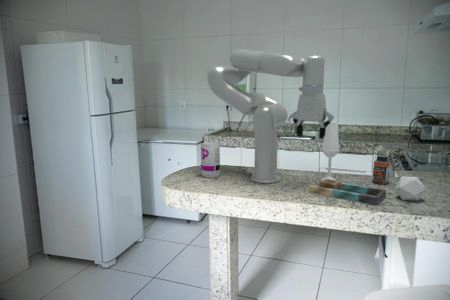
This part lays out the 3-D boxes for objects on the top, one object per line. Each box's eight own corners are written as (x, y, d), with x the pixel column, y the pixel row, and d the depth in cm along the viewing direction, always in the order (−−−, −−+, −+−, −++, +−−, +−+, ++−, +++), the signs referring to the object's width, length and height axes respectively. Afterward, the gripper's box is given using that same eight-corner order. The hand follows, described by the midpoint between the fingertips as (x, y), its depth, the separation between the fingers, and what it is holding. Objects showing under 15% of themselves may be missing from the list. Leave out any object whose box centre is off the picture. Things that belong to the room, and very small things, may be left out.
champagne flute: (319, 181, 136) (322, 124, 132) (321, 177, 143) (323, 122, 138) (336, 183, 134) (340, 124, 130) (337, 179, 140) (340, 123, 136)
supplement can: (206, 179, 141) (206, 144, 139) (198, 175, 148) (198, 142, 146) (223, 176, 145) (222, 143, 143) (214, 172, 152) (214, 140, 150)
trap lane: (308, 192, 122) (308, 185, 122) (320, 185, 131) (320, 179, 131) (377, 205, 108) (377, 198, 107) (385, 196, 117) (386, 190, 116)
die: (419, 207, 108) (434, 182, 109) (395, 192, 110) (410, 168, 111) (409, 207, 116) (423, 184, 117) (387, 193, 118) (401, 171, 119)
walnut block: (318, 192, 123) (319, 182, 122) (325, 188, 127) (325, 178, 127) (334, 195, 119) (335, 185, 118) (340, 191, 123) (341, 181, 123)
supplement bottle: (370, 183, 134) (372, 156, 132) (373, 180, 139) (375, 153, 137) (386, 185, 130) (388, 157, 128) (389, 182, 135) (391, 155, 133)
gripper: (286, 90, 124) (285, 136, 127) (332, 90, 113) (329, 140, 117) (295, 90, 130) (294, 134, 133) (339, 90, 119) (336, 138, 122)
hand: (310, 136), depth 125 cm, fingers open, 8 cm apart
